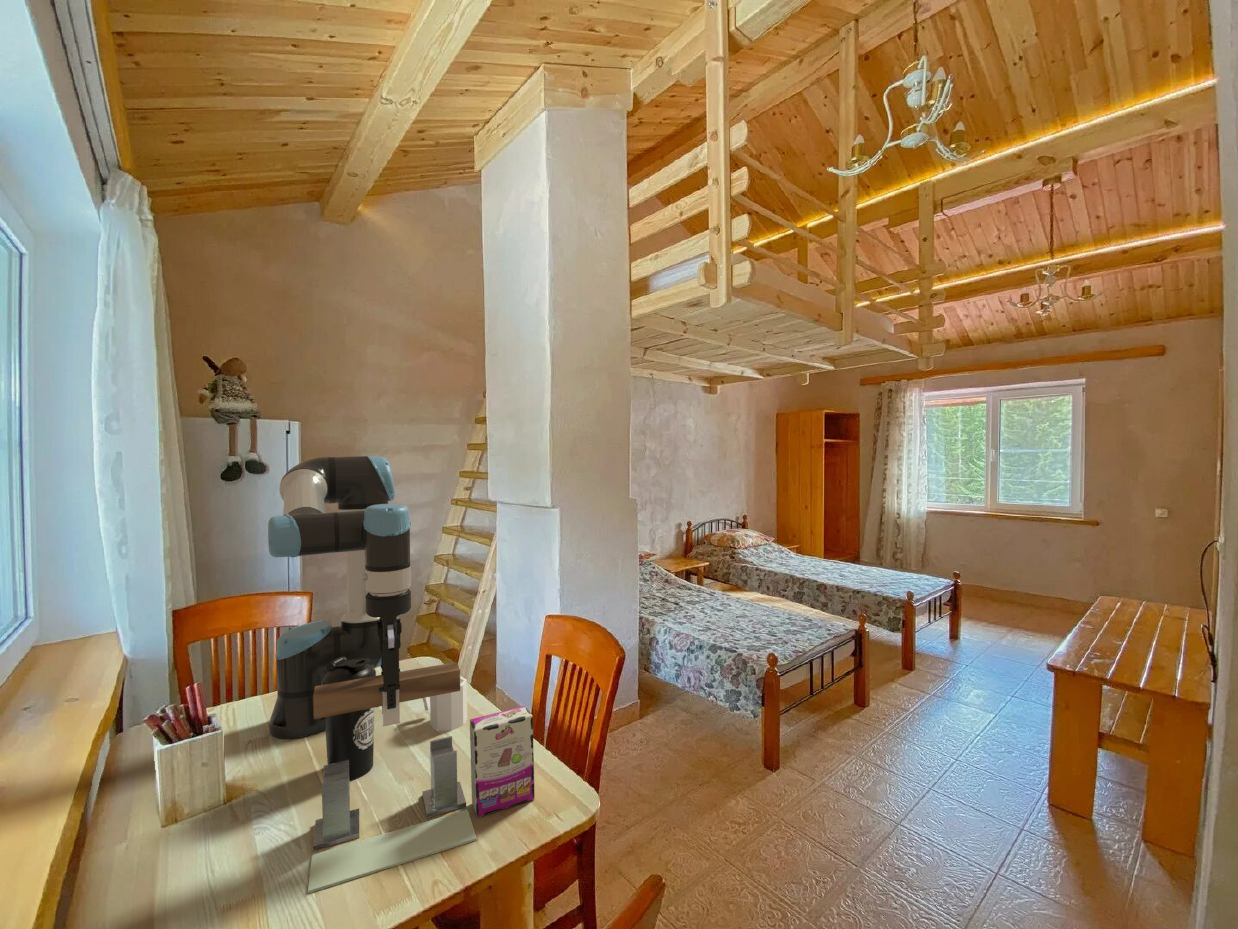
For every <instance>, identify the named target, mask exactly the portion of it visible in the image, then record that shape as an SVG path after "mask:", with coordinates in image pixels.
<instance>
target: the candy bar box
mask: <svg viewBox="0 0 1238 929" xmlns="http://www.w3.org/2000/svg"><path fill="white" fill-rule="evenodd" d="M469 735H470V736H469V737H470V738H469V740H470V742H469V744H470V773H471V774H470V775H471V776H470V778H471V779H470V780H471V781H470V782H471V784H470V785H471V787H470V788H471V803H472V807H473V809H474V812H475V816H476V818H481V817H483V816H488V815H491V814H494V813H497V812H499V811H502V810H506V809H508V808H509V809H510V808H511V807H515V806H518V805H521V804H523V803H527V802H529V801H532V800H535V763H534V762H535V761H534V760H535V759H534V750H535V749H534V716H533V714H532V713H531V712H530V711H529V708H528V707H527V706H526V705H523V706H520V707H515V708H511V709H507V710H503V711H498V712H495V713H490V714H487V715H482V716H479V717H475V718H470V719H469Z"/></svg>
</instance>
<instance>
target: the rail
mask: <svg viewBox="0 0 1238 929" xmlns="http://www.w3.org/2000/svg"><path fill="white" fill-rule="evenodd" d="M400 671H401V672H399V684H400V689H399V704H400V703H405V702H410V701H415V700H420V699H423V698H426V697H431V696H436V695H441V694H447V693H452V692H457V691H460V676H461V669H460V667H459V665H458V663H457V661H455V662H448V663H442V664H438V665H432V666H426V667H420V668H413V669H407V670H403V671H402V670H400ZM382 687H383V675H381V674H379V675H376V676H372V677H366V678H361V679H355V680H349V681H343V682H337V683H332V684H326V685H320V686H315V689H314V695H313V706H314V719H319V718H324V717H329V716H334V715H339V714H344V713H349V712H354V711H360V710H365V709H370V708H374V709H375V708H380V707H382V706H383V692H379V688H382Z"/></svg>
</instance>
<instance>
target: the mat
mask: <svg viewBox="0 0 1238 929" xmlns="http://www.w3.org/2000/svg"><path fill="white" fill-rule="evenodd" d="M475 841H477V836H476V833H475V830H474V826H473V823H472V819H471V816H470V813H469V810H468V809H464V810H460V811H458V812H454V813H451V814H448V815H444V816H441V817H437V818H434V819H429V820H427V821H423V822H420V823H416V824H413V825H410V826H406V827H403V828H399V829H396V830H393V831H392V830H391V831H389V832H385V833H382V834H378V835H376V836H375V835H374V836H372V837H368V838H365V839H362V840H359V841H355V842H352V843H348V844H344V845H341V846H337V847H334V848H331V849H327V850H324V851H321V852H320V851H319V852H318V853H313V854H312V855H311V862H310V871H309V879H308V880H309V881H308V890H307V894H308V895H309V894H312V893H315V892H318V891H321V890H323V889H327V888H331V887H333V886H337V885H340V884H343V883H347V882H349V881H353V880H356V879H359V878H362V877H365V876H368V875H371V874H375V873H377V872H381V871H384V870H387V869H390V868H393V867H397V866H400V865H402V864H406V863H409V862H412V861H415V860H418V859H419V860H420V859H421V858H424V857H428V856H430V855H434V854H437V853H440V852H444V851H446V850H450V849H453V848H456V847H460V846H463V845H465V844H469V843H472V842H475Z"/></svg>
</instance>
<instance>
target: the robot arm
mask: <svg viewBox="0 0 1238 929" xmlns="http://www.w3.org/2000/svg"><path fill="white" fill-rule="evenodd" d="M280 480H281V481H280V483H279V495H280V498H281V500H282V501H283V510H282V511H283V512H282V515H275V516H271V517H270V518H269V519H268V525H267V537H268V538H267V539H268V540H267V541H268V542H267V543H268V544H267V546H268V553H269V555H270V556H271V557H274V558H298V557H303V556H314V555H322V554H323V555H325V554H335V553H345V552H346V553H345V555H346V557H345V558H346V560H345V561H346V594H347V595H346V596H347V599H346V600H347V603H346V604H347V610H346V612H345V613H344V614H343V615H342V616H341V618H340V625H338V626H333V624H332V623H331V622H330V621H327V620H321V621H320V620H318V621H317V620H316V621H311V622H306V623H303V624H300V625H297V626H294V627H292V628H290V629H289V630H287V631H285V632H283V633H282V634H281V635H280V636H279V637H278V639H277V641H276V651H275V652H276V654H275V659H276V679H277V680H276V684H277V685H276V686H277V687H276V689H277V690H276V691H277V697H276V700H275V703H274V706H273V709H272V712H271V715H270V719H269V725H268V726H269V733H270V735H271V736H273V737H275V738H279V739H296V738H303V737H308V736H311V735H315V734H318V733H321V732H323V731H326V729H325V717H324V718H319V719H314V706H313V695H314V689H315V686H320V685H321V680H322V678H323V677H324V676H325V674H326V673H327V672H328V671H327V668H326V667H327V665H328V664H329V663H330V662H332V661H334V660H335V659H337V658H339V657H342V656H344V657H345V658H346V659H347V660H353V659H361V658H369V659H370V662H369V663H368V664H370V665H371V666H372V667H373V669H375V670H376V668H379V667H380V669H381V672H380V675H383V687H382V688H379V692H383V706H381V714H382V726H383V727H388V726H393V725H398V724H400V722H401V718H400V717H401V716H400V715H401V714H400V713H401V712H400V708H401V707H400V703H399V689H400V684H399V672H401V671H402V670H401V668H400V649H401V644H402V643H401V633H402V629H403V627H402V622H401V618H397V617H399V616H400V615H405V614H407V613H408V612H409V611H410V610H411V608H412V591H411V590H410V588H411V586H412V566H411V525H412V523H411V522H412V521H411V519H410V509H409V507H408V506H407V505H406V504H401V503H389V502H392V501H394V499H395V497H396V496H395V495H396V494H395V482H394V478H393V472H392V468H391V466H390V462H389V461H388V460H387V459H386V458H385V457H383V456H374V455H373V456H372V455H371V456H370V455H366V456H365V455H363V456H361V455H360V456H320V457H313V458H311V459H310V458H309V459H307V460H304V461H302V462H299V463H298V464H297V465H295V466H293V467H291V468H290V469H289V470H288V471H287V472H286V473H285V474H284V475H283V476H282V479H280ZM326 504H337V510H338V512H336V511H335V512H326Z"/></svg>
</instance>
